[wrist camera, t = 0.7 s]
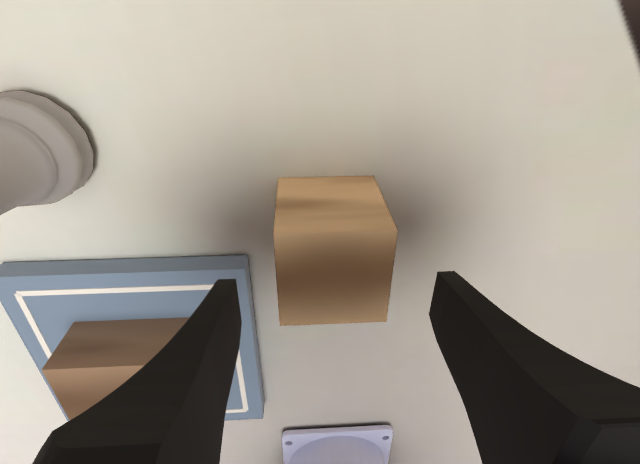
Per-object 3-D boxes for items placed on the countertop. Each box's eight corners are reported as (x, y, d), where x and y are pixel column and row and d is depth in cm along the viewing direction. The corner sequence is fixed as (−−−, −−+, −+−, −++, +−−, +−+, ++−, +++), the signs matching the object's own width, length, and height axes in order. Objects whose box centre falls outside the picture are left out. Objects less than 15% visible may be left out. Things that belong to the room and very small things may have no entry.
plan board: (264, 401, 26) (259, 466, 22) (80, 411, 25) (45, 479, 22) (247, 255, 20) (236, 311, 16) (3, 262, 19) (-64, 323, 16)
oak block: (367, 253, 20) (386, 321, 16) (282, 255, 20) (279, 325, 16) (373, 175, 18) (397, 230, 14) (278, 177, 18) (273, 234, 14)
